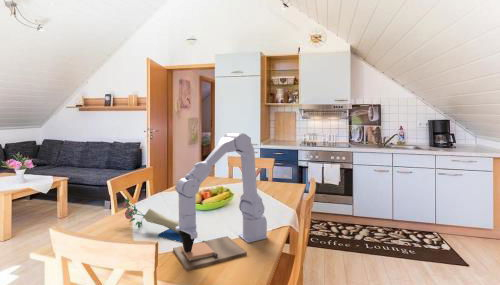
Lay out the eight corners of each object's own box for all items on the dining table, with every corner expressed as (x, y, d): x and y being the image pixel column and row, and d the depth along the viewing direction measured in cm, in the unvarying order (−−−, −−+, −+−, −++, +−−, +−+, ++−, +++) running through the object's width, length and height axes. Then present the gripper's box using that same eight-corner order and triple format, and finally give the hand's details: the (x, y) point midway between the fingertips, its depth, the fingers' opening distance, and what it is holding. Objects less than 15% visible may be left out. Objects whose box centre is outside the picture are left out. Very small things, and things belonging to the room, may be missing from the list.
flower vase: (176, 255, 117) (111, 225, 128) (193, 236, 128) (131, 210, 139) (176, 233, 112) (108, 204, 123) (193, 215, 123) (129, 190, 133)
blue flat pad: (185, 242, 111) (157, 234, 118) (185, 245, 112) (157, 236, 118) (197, 235, 118) (169, 228, 125) (197, 238, 118) (169, 230, 125)
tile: (181, 246, 103) (181, 249, 103) (189, 257, 95) (189, 260, 95) (204, 242, 108) (204, 245, 108) (214, 251, 100) (214, 255, 100)
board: (227, 238, 116) (227, 233, 116) (246, 254, 102) (246, 248, 102) (173, 250, 105) (172, 244, 105) (186, 270, 92) (186, 264, 91)
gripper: (170, 209, 103) (170, 245, 104) (182, 221, 90) (182, 263, 91) (189, 206, 106) (189, 241, 107) (203, 218, 94) (203, 258, 95)
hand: (187, 251), depth 100 cm, fingers closed, pressing on tile
